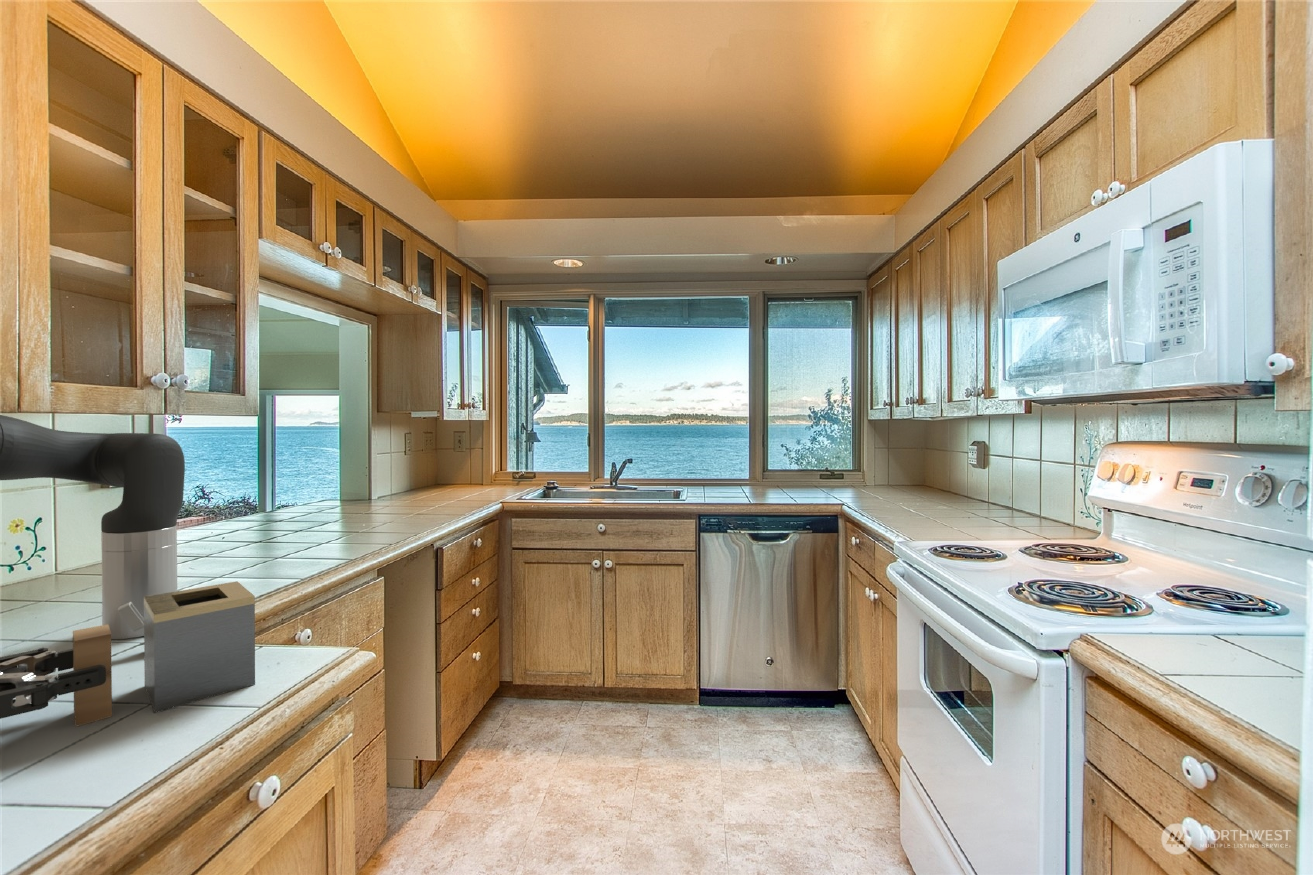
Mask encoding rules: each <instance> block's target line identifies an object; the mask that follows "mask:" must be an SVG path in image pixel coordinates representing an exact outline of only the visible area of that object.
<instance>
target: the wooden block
mask: <svg viewBox="0 0 1313 875" xmlns="http://www.w3.org/2000/svg"><path fill="white" fill-rule="evenodd" d="M72 649H73V668H72V671H74V670H79V669H83V668H87V667H92V666H96V665H104V666H105V668H106V681H105V683H104V684H102V685H100V686H96V687H92V688H88V689H84V690H79V691H75V692H73V716H74V726H75V728H76V727H80V726H82V725H87V724H90V723H93V722H96V721H101V720H104V719H107V718H111V717H113V691H112V690H113V687H112V686H113V683H112V680H113V679H112V677H113V676H112V675H113V674H112V639H111V632H110V628H109V625H108V624H107V625H102V624H101V625H98V626H97V625H96V626H93V627H86V628H82V629H76V630H72Z"/></svg>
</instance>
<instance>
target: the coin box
mask: <svg viewBox="0 0 1313 875" xmlns="http://www.w3.org/2000/svg"><path fill="white" fill-rule="evenodd" d="M255 598H256V596H255V595H254V594H253V593H252V592H251V591H249V589H247V588H246V587H245V586H244V585H242V584H241V583H240V582H239V581H230V582H225V583H219V584H211V585H207V586H201V587H200V586H199V587H196V588H189V589H184V590H183V589H182V590H177V591H176V592H170V593H164V594H158V595H152V596H146V597H144V636H143V638H144V639H143V640H144V641H143V642H144V643H143V644H144V645H143V648H144V653H143V654H144V655H143V656H144V663H143V664H144V688H145V691H146V694H147V696H148V699H149V702H150V704H151V707H152V709H153V712H154V713H155V714H157V713H159V712H163V711H167V710H171V709H173V708H177V707H180V706H184V705H187V704H190V703H192V704H193V703H194V702H197V701H201V700H205V699H209V698H212V697H216V696H219V695H222V694H225V693H230V692H234V691H236V690H240V689H244V688H246V687H250V686H253V685H256V613H255V612H256V603H255V602H256V601H255V600H256V599H255Z"/></svg>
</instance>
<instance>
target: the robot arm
mask: <svg viewBox="0 0 1313 875" xmlns="http://www.w3.org/2000/svg"><path fill="white" fill-rule="evenodd" d="M185 467H186V462H185V454H184V452H183V449H182V446H181V445H180V443H179V442H178V441H177V440H176V439H174V438H172V437H171V436H170V435H166V434H163V433H151V432H150V433H148V432H146V433H143V432H142V433H141V432H140V433H139V432H136V433H135V432H117V433H116V432H115V433H105V432H104V433H98V432H97V433H96V432H77V431H66V430H58V429H52V428H48V427H45V426H41V425H38V424H36V423H33V422H29V421H26V420H23V419H21V418H20V419H19V418H17V417H12V416H7V415H3V414H2V415H1V414H0V481H14V480H25V479H26V480H28V479H40V478H41V479H42V478H43V479H46V478H47V479H48V478H49V479H60V480H67V481H68V480H69V481H77V482H82V483H83V482H85V483H91V484H97V485H102V486H103V485H104V486H108V487H116V488H122V490H123V491H122V498H121V503H120V504H119V505H118V506H117V507H116V508H114V509H111V510H110V511H108V512H105V513H104V514H103V515H102V517H101V522H100V525H101V526H100V528H101V588H102V589H101V602H102V603H101V605H102V606H101V610H102V611H101V614H102V615H101V617H102V618H101V619H102V624H101V626H102V625H107V624H108V625H109V628H110V632H111V640H122V639H123V640H125V639H133V638H138V637H144V627H143V628H141V629H139V630H137V631H135V632H134V631H133V630H132V628H131V627H130V626H129V624H128V623H127V622H126V620H125V619H124V618H123V616H122V615H121V614H120V613H119V611H118V608H119V607H120V606H122V605H124V604H127V603H129V602H131V603H132V604H133V605H134V607H135V608H136V609H137V611H138V612H139V613H140V615H141V616H142V617H143V619H144V597H146V596H152V595H158V594H164V593H170V592H176V591H178V539H177V538H178V530H177V528H178V516H179V513H180V511H181V509H182V508H183V507H182V506H183V502H184V490H185V489H184V488H185V473H186V472H185V470H186V468H185ZM71 669H72V670H71ZM66 670H71V671H66ZM62 671H65V672H62ZM55 672H62V673H58V674H53V673H55ZM50 674H51V675H50ZM105 681H106V668H105V666H104V665H96V666H92V667H87V668H83V669H79V670H74V671H73V648H71V649H66V650H60V651H56V650H49V648H48V647H41V648H37V649H33V650H27V651H24V652H18V653H14V654H13V653H12V654H10V655H9V654H8V655H4V656H0V720H1V719H6V718H9V717H14V716H17V715H22V714H26V713H30V712H35V711H39V710H43V709H45V708H47V707H48V706H49V702H52V701H53V700H56V699H57V698H58V696H62V695H67V694H72V693H74V692H75V691H79V690H84V689H88V688H92V687H96V686H100V685H102V684H104V683H105Z"/></svg>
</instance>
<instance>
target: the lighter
mask: <svg viewBox="0 0 1313 875" xmlns="http://www.w3.org/2000/svg"><path fill="white" fill-rule="evenodd" d="M118 611H119V613H120V614H121V615H122V616H123V618H124V619H125V620H126V622H127V623H128V624H129V626H130V627H131V628H132V630H133V631H134V632H135V631H137V630H139V629H141V628H143V627H144V619H143V617H142V616H141V615H140V613H139V612H138V611H137V609H136V608H135V607H134V605H133V604H132V603H131V602H129V603H127V604H124V605H122V606H120V607H119V608H118Z"/></svg>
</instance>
